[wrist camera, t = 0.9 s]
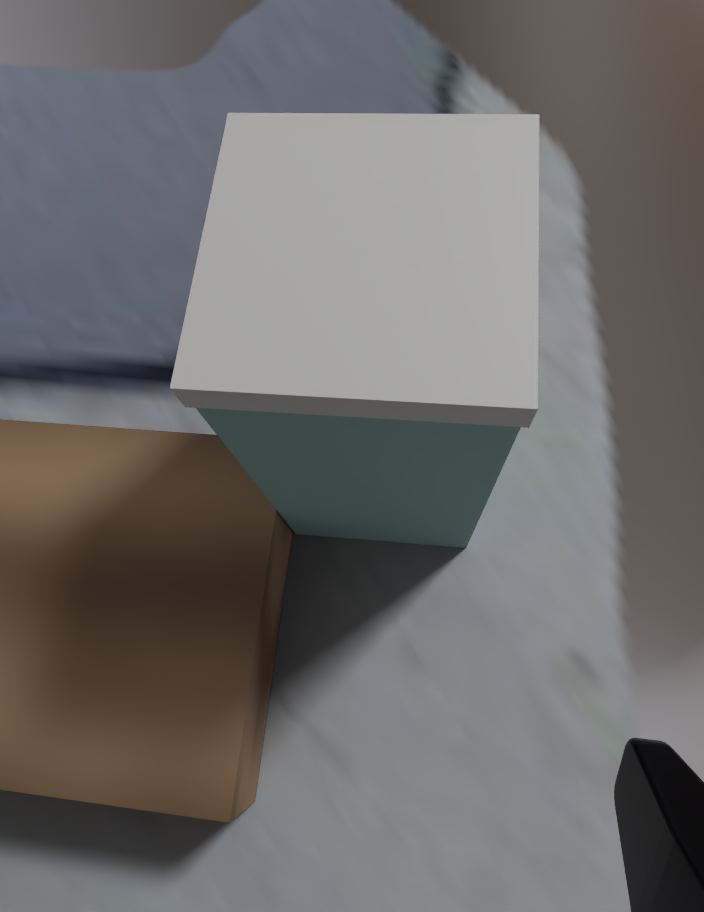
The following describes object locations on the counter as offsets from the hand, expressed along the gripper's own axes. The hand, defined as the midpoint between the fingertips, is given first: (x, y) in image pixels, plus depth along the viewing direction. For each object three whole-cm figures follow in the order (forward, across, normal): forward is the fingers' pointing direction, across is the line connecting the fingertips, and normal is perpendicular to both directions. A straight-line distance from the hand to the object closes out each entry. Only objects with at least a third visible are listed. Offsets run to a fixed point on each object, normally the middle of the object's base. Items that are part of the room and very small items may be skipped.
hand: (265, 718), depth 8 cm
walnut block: (+11, +8, +8) cm, 16 cm away
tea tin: (+15, 0, +3) cm, 15 cm away
